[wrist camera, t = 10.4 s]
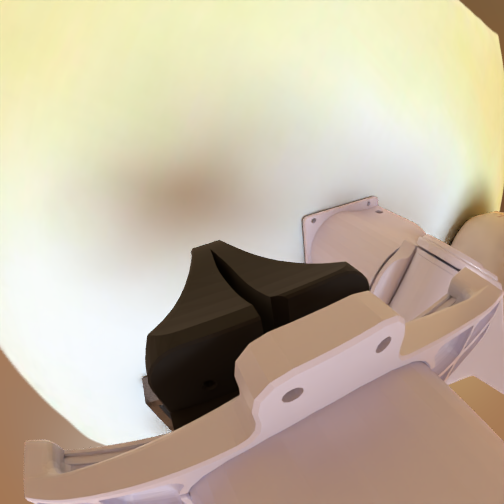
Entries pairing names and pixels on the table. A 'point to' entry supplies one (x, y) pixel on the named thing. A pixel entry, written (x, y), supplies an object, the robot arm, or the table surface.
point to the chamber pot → (484, 242)
